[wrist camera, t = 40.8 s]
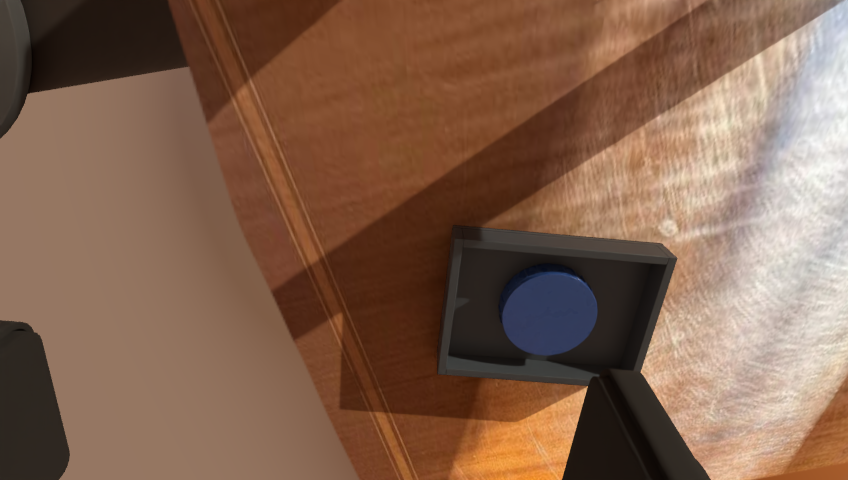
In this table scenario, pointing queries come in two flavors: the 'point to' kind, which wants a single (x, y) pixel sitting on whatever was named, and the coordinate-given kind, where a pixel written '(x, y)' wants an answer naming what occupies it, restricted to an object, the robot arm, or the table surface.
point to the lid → (547, 309)
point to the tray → (517, 250)
